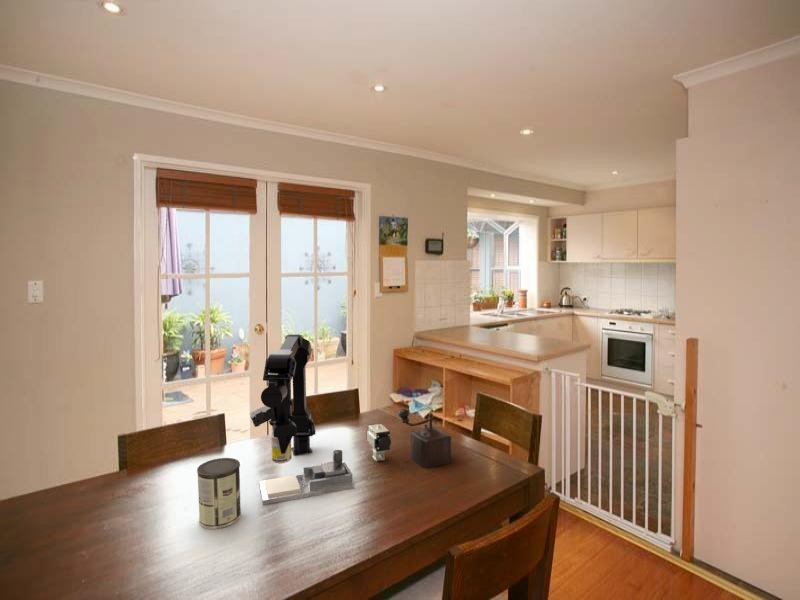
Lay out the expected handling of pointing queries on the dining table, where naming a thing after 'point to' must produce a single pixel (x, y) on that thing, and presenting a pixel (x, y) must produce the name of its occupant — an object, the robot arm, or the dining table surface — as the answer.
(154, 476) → the dining table surface
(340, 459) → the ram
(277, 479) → the plate
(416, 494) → the dining table surface
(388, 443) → the pneumatic valve
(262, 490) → the press base
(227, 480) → the coffee can
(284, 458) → the supplement bottle
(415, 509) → the dining table surface
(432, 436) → the pepper mill
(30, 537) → the dining table surface
